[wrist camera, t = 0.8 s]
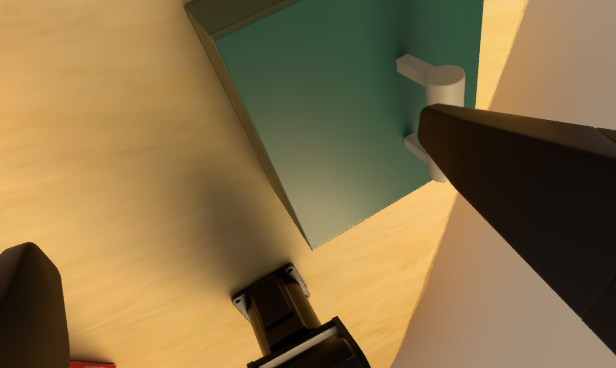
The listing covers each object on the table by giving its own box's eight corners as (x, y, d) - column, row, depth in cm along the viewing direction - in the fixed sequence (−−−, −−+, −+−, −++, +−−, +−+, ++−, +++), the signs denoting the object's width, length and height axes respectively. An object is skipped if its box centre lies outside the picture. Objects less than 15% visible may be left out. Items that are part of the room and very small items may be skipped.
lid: (476, -91, 16) (578, -89, 12) (463, 151, 25) (517, 187, 22) (208, 34, 14) (244, 76, 10) (306, 242, 24) (340, 297, 20)
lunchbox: (388, -88, 20) (465, -86, 15) (406, 120, 29) (456, 155, 25) (182, 5, 18) (208, 34, 14) (275, 192, 28) (306, 242, 24)
